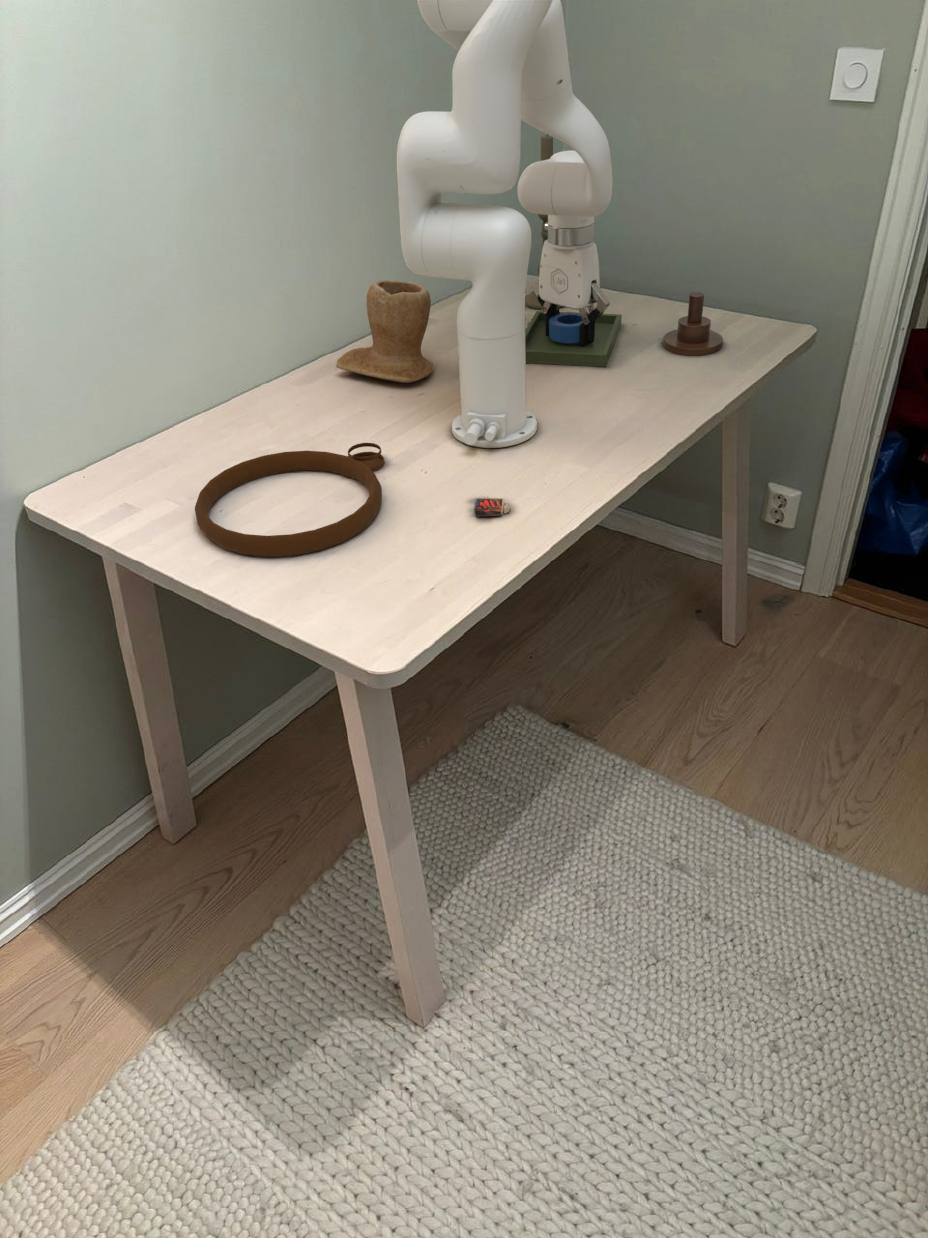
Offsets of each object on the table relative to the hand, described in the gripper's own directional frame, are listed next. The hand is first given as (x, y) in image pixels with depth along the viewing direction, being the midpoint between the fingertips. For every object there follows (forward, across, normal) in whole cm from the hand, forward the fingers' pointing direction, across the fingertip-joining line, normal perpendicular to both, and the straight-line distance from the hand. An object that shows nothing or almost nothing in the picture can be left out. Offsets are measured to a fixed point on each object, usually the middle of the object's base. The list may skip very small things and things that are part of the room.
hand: (569, 338), depth 175 cm
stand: (+1, +17, +12) cm, 21 cm away
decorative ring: (+1, +9, -66) cm, 66 cm away
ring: (0, 0, 0) cm, 0 cm away
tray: (+1, 0, 0) cm, 1 cm away
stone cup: (+1, -15, -28) cm, 32 cm away
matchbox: (+1, +30, -51) cm, 59 cm away
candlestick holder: (+1, -17, +14) cm, 22 cm away
